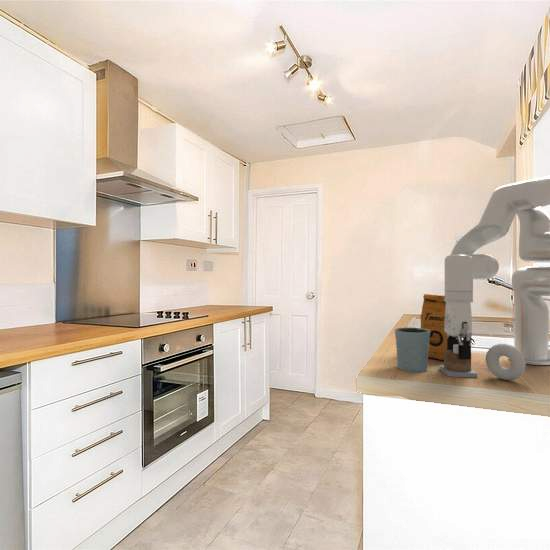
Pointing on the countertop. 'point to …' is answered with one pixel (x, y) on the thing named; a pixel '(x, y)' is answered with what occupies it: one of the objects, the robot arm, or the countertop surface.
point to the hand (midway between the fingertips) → (458, 355)
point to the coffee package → (435, 324)
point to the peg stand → (457, 374)
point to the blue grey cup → (412, 349)
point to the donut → (515, 358)
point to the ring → (455, 362)
